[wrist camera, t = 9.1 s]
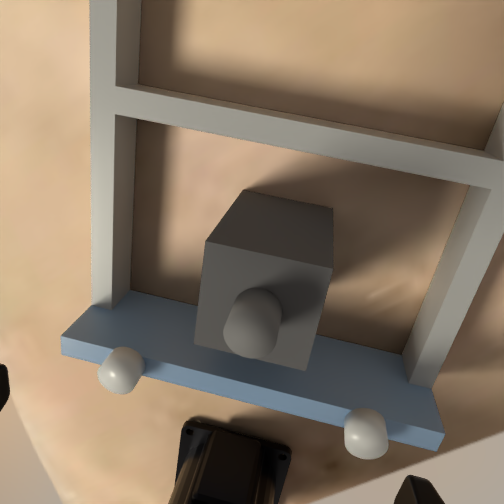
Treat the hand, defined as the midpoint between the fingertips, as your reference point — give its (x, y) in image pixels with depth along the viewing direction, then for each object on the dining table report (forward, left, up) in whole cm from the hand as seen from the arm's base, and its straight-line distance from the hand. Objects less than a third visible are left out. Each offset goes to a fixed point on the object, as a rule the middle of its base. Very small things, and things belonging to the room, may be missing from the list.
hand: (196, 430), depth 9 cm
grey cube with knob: (0, 0, -11) cm, 11 cm away
